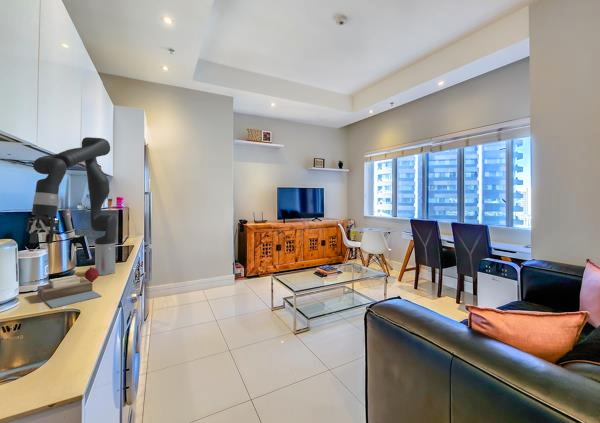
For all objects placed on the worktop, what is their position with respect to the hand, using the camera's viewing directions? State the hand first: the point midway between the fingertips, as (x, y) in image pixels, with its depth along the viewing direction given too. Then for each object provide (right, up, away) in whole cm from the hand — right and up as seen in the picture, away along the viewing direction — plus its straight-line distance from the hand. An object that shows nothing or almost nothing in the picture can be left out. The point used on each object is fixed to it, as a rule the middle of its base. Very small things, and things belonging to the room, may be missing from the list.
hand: (40, 243), depth 110 cm
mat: (+12, -24, +2) cm, 27 cm away
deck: (+3, -24, +9) cm, 25 cm away
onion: (+1, -23, +26) cm, 35 cm away
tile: (+2, -20, +9) cm, 22 cm away
